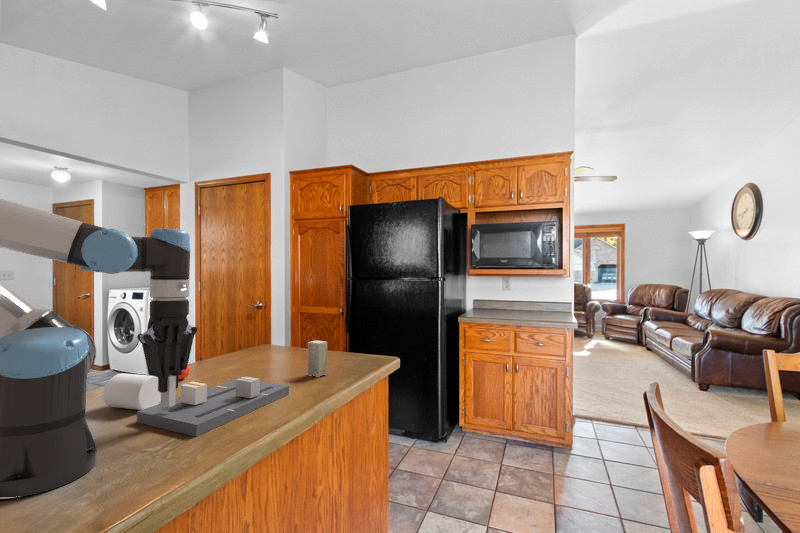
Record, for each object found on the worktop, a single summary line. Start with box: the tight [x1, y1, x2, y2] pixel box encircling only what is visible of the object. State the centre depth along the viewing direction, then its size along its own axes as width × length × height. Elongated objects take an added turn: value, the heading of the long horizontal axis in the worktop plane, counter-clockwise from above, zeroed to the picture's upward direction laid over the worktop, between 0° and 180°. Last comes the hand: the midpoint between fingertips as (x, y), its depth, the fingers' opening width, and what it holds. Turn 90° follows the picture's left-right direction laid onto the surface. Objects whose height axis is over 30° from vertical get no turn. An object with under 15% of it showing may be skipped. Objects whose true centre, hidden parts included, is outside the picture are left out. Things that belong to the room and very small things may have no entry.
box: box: [307, 340, 328, 377], centre depth 127 cm, size 5×4×11 cm
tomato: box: [178, 364, 191, 381], centre depth 119 cm, size 7×8×6 cm
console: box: [136, 377, 290, 437], centre depth 96 cm, size 30×19×2 cm, turn 159°
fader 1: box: [179, 381, 208, 405], centre depth 92 cm, size 3×5×4 cm
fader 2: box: [235, 376, 261, 398], centre depth 97 cm, size 3×5×4 cm
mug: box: [102, 372, 161, 411], centre depth 97 cm, size 12×10×8 cm
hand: (167, 405), depth 86 cm, fingers closed
